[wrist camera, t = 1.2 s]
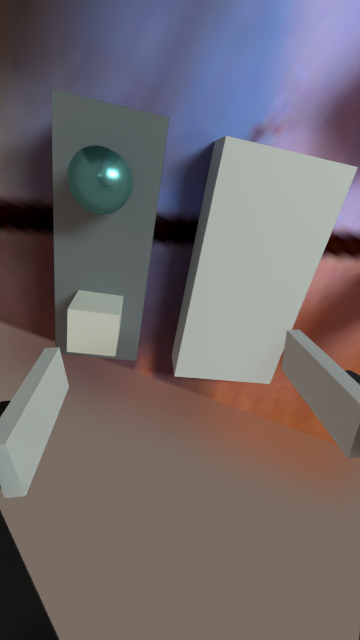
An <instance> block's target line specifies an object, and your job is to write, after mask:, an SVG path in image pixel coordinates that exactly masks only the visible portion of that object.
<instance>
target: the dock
mask: <svg viewBox="0 0 360 640" xmlns="http://www.w3.org/2000/svg"><path fill="white" fill-rule="evenodd" d="M357 168H358V167H355V166H351V165H347V164H342V163H338V162H334V161H330V160H326V159H321V158H317V157H313V156H309V155H304V154H300V153H296V152H292V151H288V150H283V149H279V148H275V147H271V146H266V145H262V144H258V143H254V142H250V141H245V140H241V139H237V138H233V137H228V136H225V137H223V138H220V139H218V140H216V141H215V142H214V147H213V152H212V157H211V162H210V167H209V172H208V177H207V182H206V187H205V192H204V197H203V201H202V206H201V211H200V216H199V221H198V226H197V231H196V236H195V241H194V246H193V251H192V256H191V261H190V266H189V271H188V276H187V281H186V286H185V291H184V296H183V301H182V306H181V311H180V316H179V321H178V325H177V330H176V335H175V340H174V345H173V350H172V363H173V370H174V376H177V377H190V378H202V379H215V380H227V381H240V382H252V383H265V384H270V382H271V379H272V377H273V374H274V372H275V369H276V367H277V364H278V362H279V360H280V357H281V355H282V352H283V350H284V347H285V341H286V334H287V330H292V328H293V325H294V323H295V320H296V318H297V315H298V313H299V311H300V308H301V306H302V303H303V301H304V298H305V296H306V293H307V291H308V289H309V286H310V284H311V281H312V279H313V276H314V274H315V271H316V269H317V266H318V264H319V262H320V259H321V257H322V254H323V252H324V249H325V247H326V244H327V242H328V239H329V237H330V235H331V232H332V230H333V227H334V225H335V222H336V220H337V217H338V215H339V213H340V210H341V208H342V205H343V203H344V200H345V198H346V195H347V193H348V190H349V188H350V186H351V183H352V181H353V178H354V176H355V173H356V171H357Z"/></svg>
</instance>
